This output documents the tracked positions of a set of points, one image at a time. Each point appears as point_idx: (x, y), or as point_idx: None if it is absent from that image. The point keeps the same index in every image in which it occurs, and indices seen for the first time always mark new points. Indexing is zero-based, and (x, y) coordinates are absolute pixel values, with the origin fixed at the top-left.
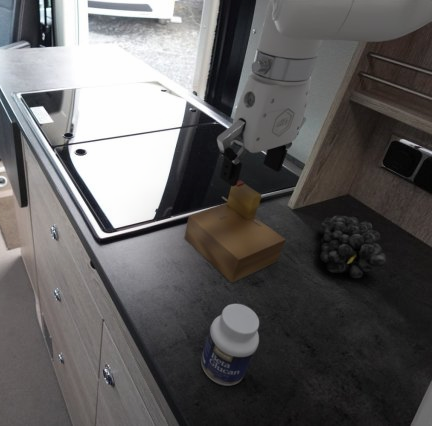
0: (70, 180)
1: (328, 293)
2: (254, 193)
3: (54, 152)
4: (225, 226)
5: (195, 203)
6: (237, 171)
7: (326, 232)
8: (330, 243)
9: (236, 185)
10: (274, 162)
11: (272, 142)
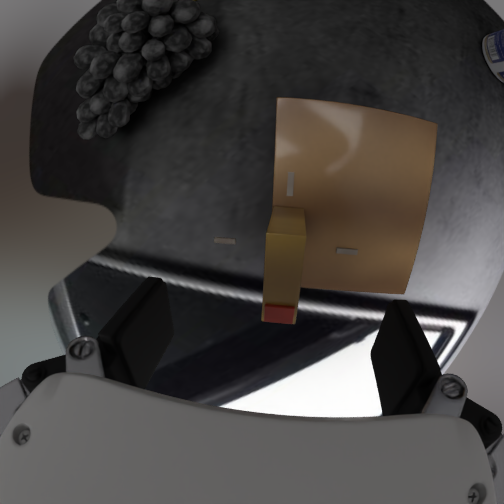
0: None
1: (259, 11)
2: (281, 252)
3: None
4: (373, 221)
5: (282, 323)
6: (426, 344)
7: (150, 83)
8: (184, 44)
9: (295, 310)
10: (155, 316)
11: (310, 473)
